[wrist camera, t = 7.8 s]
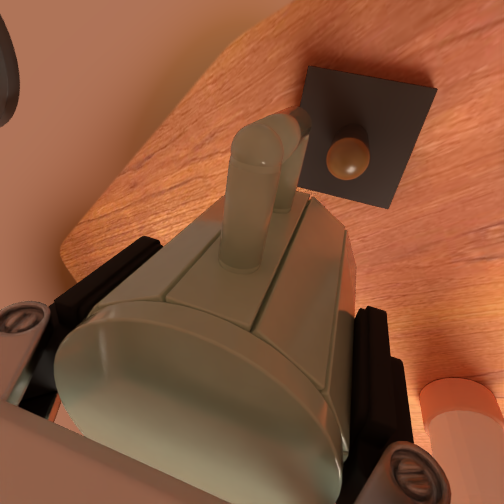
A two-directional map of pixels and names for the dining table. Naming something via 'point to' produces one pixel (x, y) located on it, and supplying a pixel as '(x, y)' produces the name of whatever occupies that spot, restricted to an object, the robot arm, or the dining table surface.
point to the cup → (230, 339)
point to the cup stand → (360, 133)
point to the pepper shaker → (466, 438)
